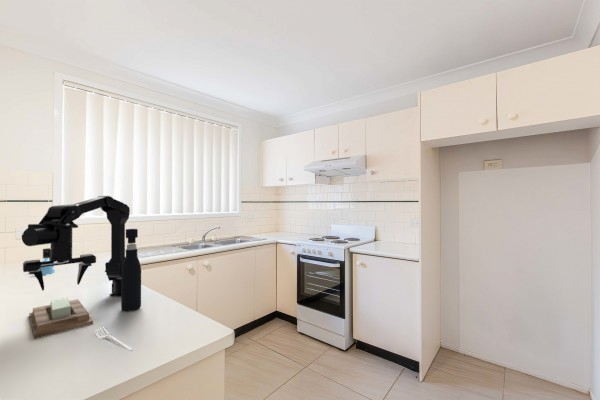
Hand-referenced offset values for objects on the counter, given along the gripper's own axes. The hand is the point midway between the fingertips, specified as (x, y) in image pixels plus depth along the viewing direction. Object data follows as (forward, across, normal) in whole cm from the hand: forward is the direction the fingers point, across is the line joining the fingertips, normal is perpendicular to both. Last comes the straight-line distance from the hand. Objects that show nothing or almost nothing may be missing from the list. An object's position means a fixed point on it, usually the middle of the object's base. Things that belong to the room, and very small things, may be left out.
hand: (61, 287), depth 95 cm
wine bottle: (+11, -20, +7) cm, 24 cm away
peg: (+10, 0, 0) cm, 10 cm away
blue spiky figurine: (+11, -4, -96) cm, 97 cm away
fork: (+12, -8, +32) cm, 35 cm away
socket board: (+11, 0, +1) cm, 11 cm away
